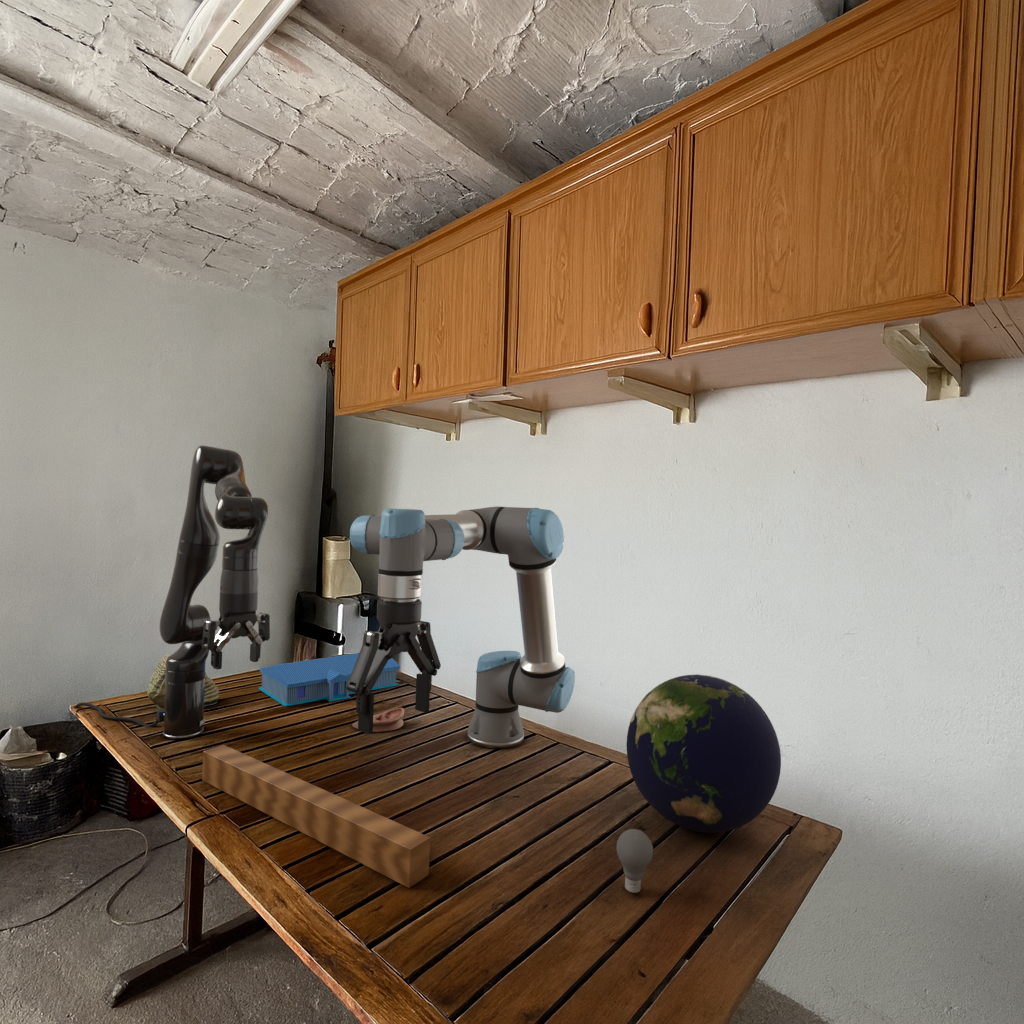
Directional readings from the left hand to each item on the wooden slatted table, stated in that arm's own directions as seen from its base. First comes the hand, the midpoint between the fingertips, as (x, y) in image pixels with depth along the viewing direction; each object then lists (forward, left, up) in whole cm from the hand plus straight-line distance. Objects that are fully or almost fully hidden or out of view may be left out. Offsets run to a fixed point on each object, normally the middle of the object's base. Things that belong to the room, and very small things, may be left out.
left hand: (236, 664), depth 136 cm
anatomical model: (-13, +44, -27) cm, 53 cm away
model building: (-51, +50, -27) cm, 76 cm away
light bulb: (+78, +37, -27) cm, 90 cm away
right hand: (+46, +10, -1) cm, 47 cm away
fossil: (-60, +8, -27) cm, 66 cm away
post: (+23, +5, -26) cm, 35 cm away
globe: (+73, +66, -27) cm, 102 cm away
